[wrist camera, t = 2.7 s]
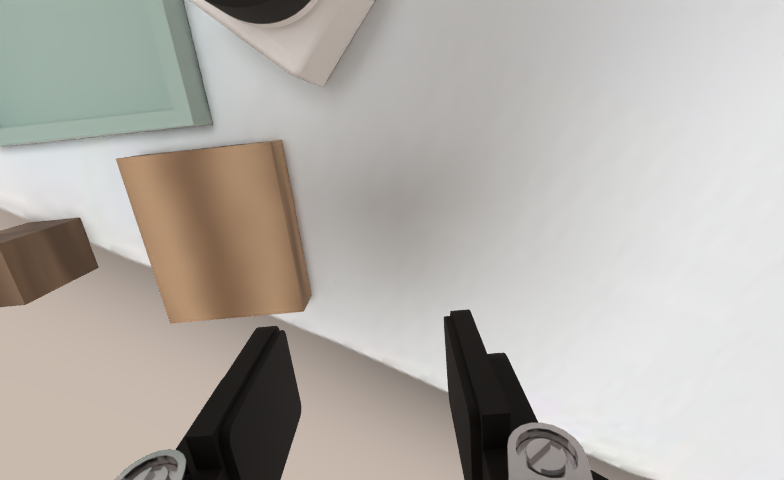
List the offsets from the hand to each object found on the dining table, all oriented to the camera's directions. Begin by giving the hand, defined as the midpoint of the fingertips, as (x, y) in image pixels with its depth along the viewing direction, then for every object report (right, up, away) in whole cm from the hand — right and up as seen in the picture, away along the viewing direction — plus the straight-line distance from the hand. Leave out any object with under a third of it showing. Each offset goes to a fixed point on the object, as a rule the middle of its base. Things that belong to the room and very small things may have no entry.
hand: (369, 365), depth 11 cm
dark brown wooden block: (-24, +3, +17) cm, 30 cm away
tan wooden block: (-11, +5, +17) cm, 21 cm away
